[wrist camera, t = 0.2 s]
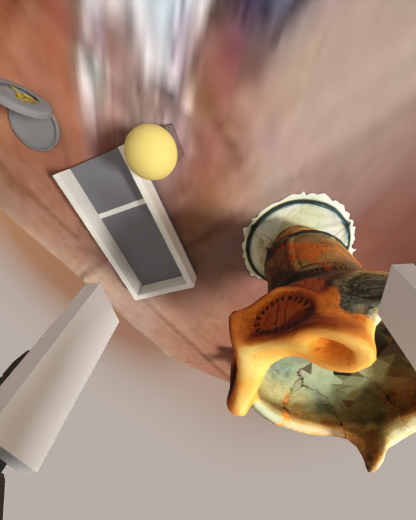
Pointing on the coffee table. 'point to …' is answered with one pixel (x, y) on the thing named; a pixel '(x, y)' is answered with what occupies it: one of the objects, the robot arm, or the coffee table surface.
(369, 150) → the coffee table surface
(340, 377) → the decorative vase
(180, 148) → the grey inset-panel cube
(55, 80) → the coffee table surface
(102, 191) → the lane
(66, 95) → the coffee table surface
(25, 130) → the pocket watch
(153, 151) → the ball
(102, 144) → the coffee table surface
